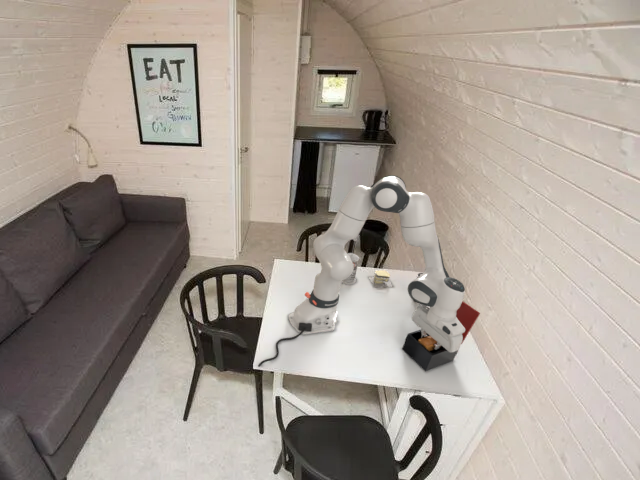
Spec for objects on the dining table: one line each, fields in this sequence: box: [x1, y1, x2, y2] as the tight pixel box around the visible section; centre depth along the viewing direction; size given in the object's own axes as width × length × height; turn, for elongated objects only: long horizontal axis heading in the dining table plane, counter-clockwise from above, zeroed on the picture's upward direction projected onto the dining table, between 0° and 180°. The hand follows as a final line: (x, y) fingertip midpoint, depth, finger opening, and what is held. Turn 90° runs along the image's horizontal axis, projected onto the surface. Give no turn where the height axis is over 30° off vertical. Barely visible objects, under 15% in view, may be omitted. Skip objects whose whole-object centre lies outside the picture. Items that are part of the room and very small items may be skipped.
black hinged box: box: [401, 329, 460, 372], centre depth 143 cm, size 15×13×9 cm
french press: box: [341, 238, 360, 285], centre depth 183 cm, size 10×12×25 cm
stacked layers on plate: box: [368, 269, 394, 288], centre depth 187 cm, size 10×9×6 cm
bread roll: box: [418, 336, 441, 351], centre depth 141 cm, size 8×4×4 cm, turn 112°
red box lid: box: [456, 300, 481, 345], centre depth 139 cm, size 15×13×1 cm
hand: (429, 343), depth 141 cm, fingers closed on bread roll, 4 cm apart
